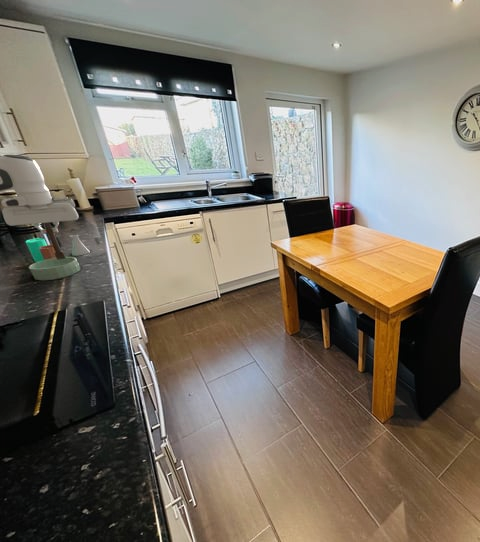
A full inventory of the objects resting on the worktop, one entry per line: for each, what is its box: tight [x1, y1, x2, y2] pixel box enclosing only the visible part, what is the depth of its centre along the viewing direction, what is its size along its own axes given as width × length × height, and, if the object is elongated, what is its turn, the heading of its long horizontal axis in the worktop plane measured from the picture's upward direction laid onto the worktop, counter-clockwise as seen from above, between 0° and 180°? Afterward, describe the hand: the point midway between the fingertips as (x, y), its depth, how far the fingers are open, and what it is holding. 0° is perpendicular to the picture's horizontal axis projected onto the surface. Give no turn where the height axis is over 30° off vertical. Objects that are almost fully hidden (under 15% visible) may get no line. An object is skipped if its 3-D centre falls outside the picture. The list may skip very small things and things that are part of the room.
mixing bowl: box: [28, 256, 81, 281], centre depth 121 cm, size 14×14×6 cm
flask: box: [69, 234, 91, 256], centre depth 142 cm, size 7×7×10 cm
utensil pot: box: [39, 244, 56, 260], centre depth 129 cm, size 6×6×9 cm
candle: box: [25, 236, 48, 263], centre depth 133 cm, size 6×6×12 cm
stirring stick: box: [42, 222, 67, 260], centre depth 118 cm, size 3×2×16 cm
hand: (50, 233), depth 116 cm, fingers closed on stirring stick, 2 cm apart
